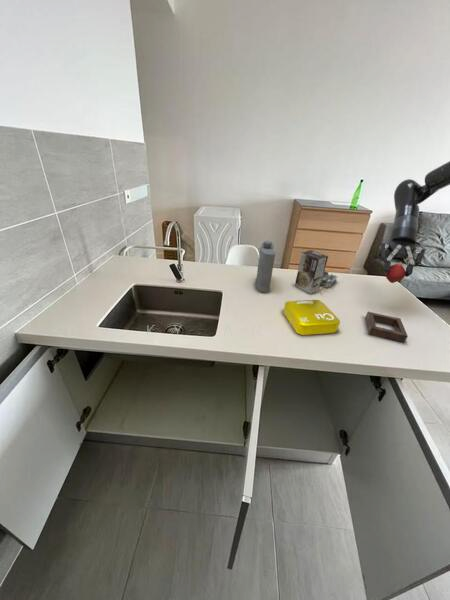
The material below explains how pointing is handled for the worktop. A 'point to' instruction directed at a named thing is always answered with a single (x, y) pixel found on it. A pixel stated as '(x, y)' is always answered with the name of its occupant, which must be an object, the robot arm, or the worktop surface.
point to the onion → (395, 273)
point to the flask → (265, 266)
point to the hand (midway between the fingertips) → (397, 273)
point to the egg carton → (328, 279)
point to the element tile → (310, 317)
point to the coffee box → (311, 271)
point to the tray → (376, 331)
